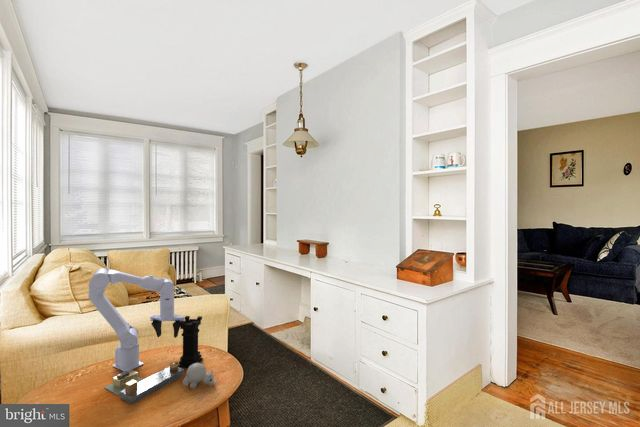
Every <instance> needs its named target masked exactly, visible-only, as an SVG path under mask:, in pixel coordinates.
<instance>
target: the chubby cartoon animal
mask: <svg viewBox="0 0 640 427" xmlns="http://www.w3.org/2000/svg"><path fill="white" fill-rule="evenodd" d="M213 372H214V370H211V371H207V370H206V367H205V365H204V364H203V363H202V362H200V363H194V364H192V365H190V366H189V368H187V369H186V376H185V377H184V379H183V380H182V384H183V386H188V385H189V388H191V389H193V390H194V389H196V388H197V386H198V385H199V383H200V382H203V383H204V384H205V385H207V386H209V387H212V386H214V384H215V383H216V381H217V378H215V379H214V375H213Z"/></svg>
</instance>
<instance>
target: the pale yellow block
mask: <svg viewBox="0 0 640 427" xmlns="http://www.w3.org/2000/svg"><path fill="white" fill-rule="evenodd" d="M138 377H139V372H138V371H136V370H134V369H132V370H131V369H130V370H128V371H125V372H124V371H122V372H121V373H118V374H117V375H115V376H114V377H112V383H113V387H115V388H117V389H119V390H121V389H123V388H125V383H127V382H129V381H131V380H133V379H134V380H136V381H138Z"/></svg>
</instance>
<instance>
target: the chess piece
mask: <svg viewBox="0 0 640 427" xmlns="http://www.w3.org/2000/svg"><path fill="white" fill-rule="evenodd" d="M202 320H203V316H199V315H198V316H197V317H196V318H191V317H190V315H186V316H184V321H180V322H179V325H180V328H179V330H182V333H181V337H182V355H181V356H180V358H179V361H178V367H179V368H181V369H188V368H189V366H190V365H192V364H194V363H202V361H203V360H204V358H203V357H202V356H203V354H201V351H199V332H200V329H199V326H200V325H202Z"/></svg>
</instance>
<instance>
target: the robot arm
mask: <svg viewBox="0 0 640 427" xmlns="http://www.w3.org/2000/svg"><path fill="white" fill-rule="evenodd" d="M116 283H117V284H118V283H124V284H125V283H126V284H131V285H136V286H137V285H139V286H140V288H141V289H142V290H148V291H153V292H157V293H159V292H160V297H159V314H152V315H151V316H150V322H151V323H150V324H151V326H152V327H153V329H154V331H155V334H156V337H157V338H160V337H161V336H162V325H163V324H162V323H163V322H173V323H172V328H173V338H174V339H175V338H177V337H178V335H179V331H180V325H179V322H180V321H185V316H184V315H178V314H175V296H174V294H175V293H174V292H175V288H176V287H175V285H174V282H173V280H172V279H169V278H164V277H162V278H161V277H154V275H153V274H152V275H151V274H150V275H144V276H143V277H142V276H138V275H134V274H131V273H127V272H123V271H119V270H115V269H108V268H104V267H103V268H99V269H97V270H96V271H94V273H93V275H92V277H91V279H90V281H89V283H88V300H89V301H90V303H92V305H93V306H94V307H95V308H96V310H97V311H98V312H99V313H100V314H101V316H102V317H103V318H104V319H105V320H106V321H105V322H107V323H108V325H110V327H111V328H112V329H113V331H114V332H115V334H116V336H117V339H118V340H119V343H120V344H118V345H117V347H116V348H115V351H114V364H113V365H112V367H113V368H116V369H118V370H121V371H122V372H125V371H128V370H130V369H131V370H134V369H137V368H139V367H141V366H142V365H144V362H142V361H140V342H139V340H138V337H139V336H138V334H139V331H138V328H136V327H134V326H133V325H131V324H130V323H129V322H127V321H126V320H125V319H124V317H123V316H122V315H121V314H120V313H119V311H118V309H116V307H115V306H114V305H113V304H112V302H111V301H110V300H109V299H108V297H107V296H106V295H105V291H106V290H105V289H106V288H107V287H108V285H109V284H110V285H114V284H116Z"/></svg>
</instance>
